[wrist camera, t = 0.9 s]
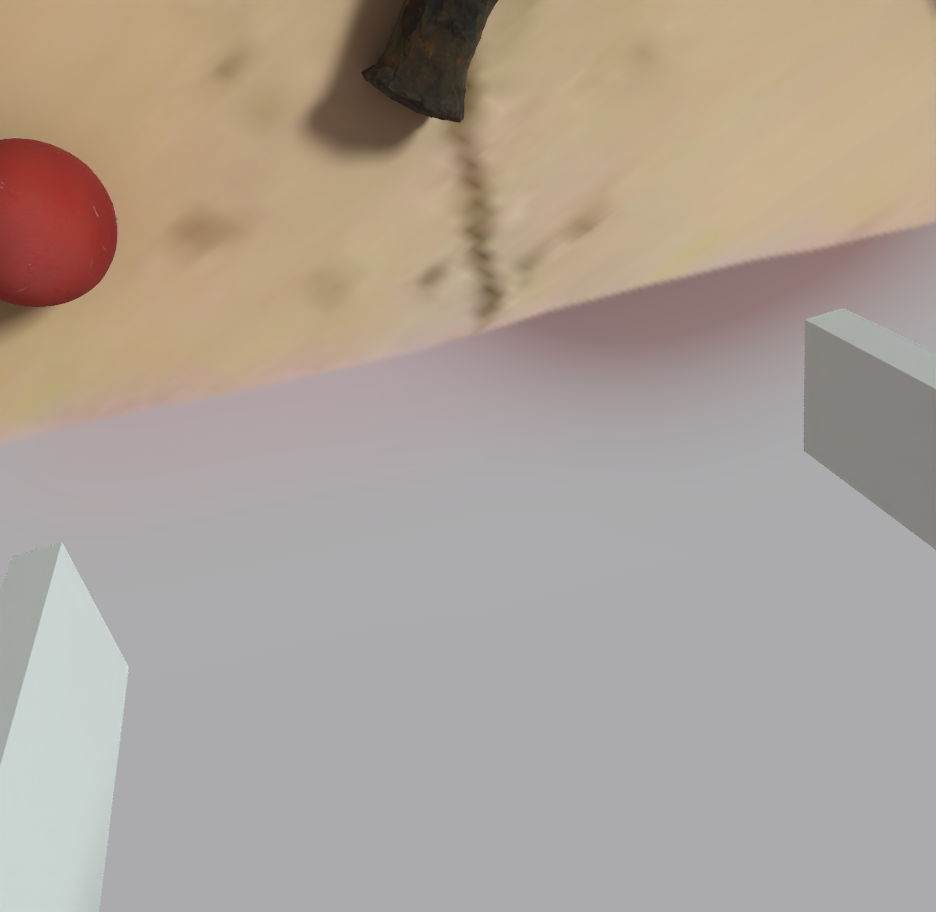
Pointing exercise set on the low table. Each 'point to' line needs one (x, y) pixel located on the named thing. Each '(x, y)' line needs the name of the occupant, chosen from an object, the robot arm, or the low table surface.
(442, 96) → the hand tool
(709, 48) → the low table surface
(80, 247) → the kendama
